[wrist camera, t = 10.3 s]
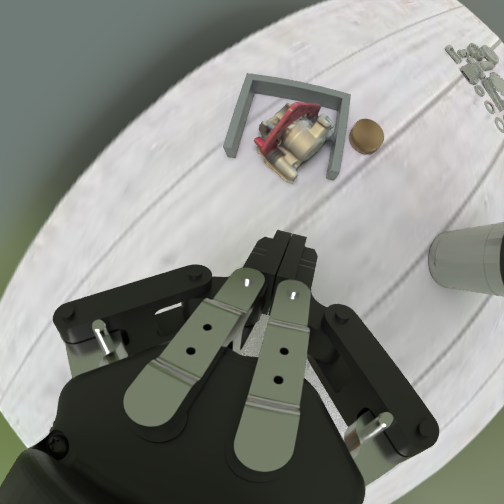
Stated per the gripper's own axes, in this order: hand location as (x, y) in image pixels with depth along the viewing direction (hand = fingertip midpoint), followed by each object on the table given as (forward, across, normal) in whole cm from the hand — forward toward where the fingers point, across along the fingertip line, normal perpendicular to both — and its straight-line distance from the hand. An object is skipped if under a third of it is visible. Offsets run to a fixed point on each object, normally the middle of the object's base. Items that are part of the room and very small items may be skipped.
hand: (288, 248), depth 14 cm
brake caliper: (+31, +5, +1) cm, 31 cm away
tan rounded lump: (+34, -6, -2) cm, 35 cm away
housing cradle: (+32, +6, -1) cm, 32 cm away
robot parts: (+57, -41, -27) cm, 75 cm away
